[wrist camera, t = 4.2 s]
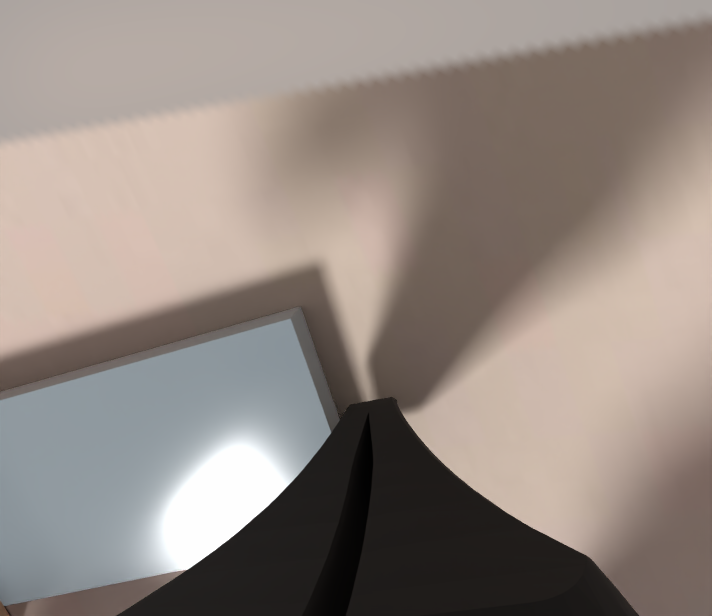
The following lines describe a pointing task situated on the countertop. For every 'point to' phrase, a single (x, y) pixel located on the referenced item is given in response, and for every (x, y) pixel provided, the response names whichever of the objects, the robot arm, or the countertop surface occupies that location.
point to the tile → (154, 455)
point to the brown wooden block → (3, 610)
